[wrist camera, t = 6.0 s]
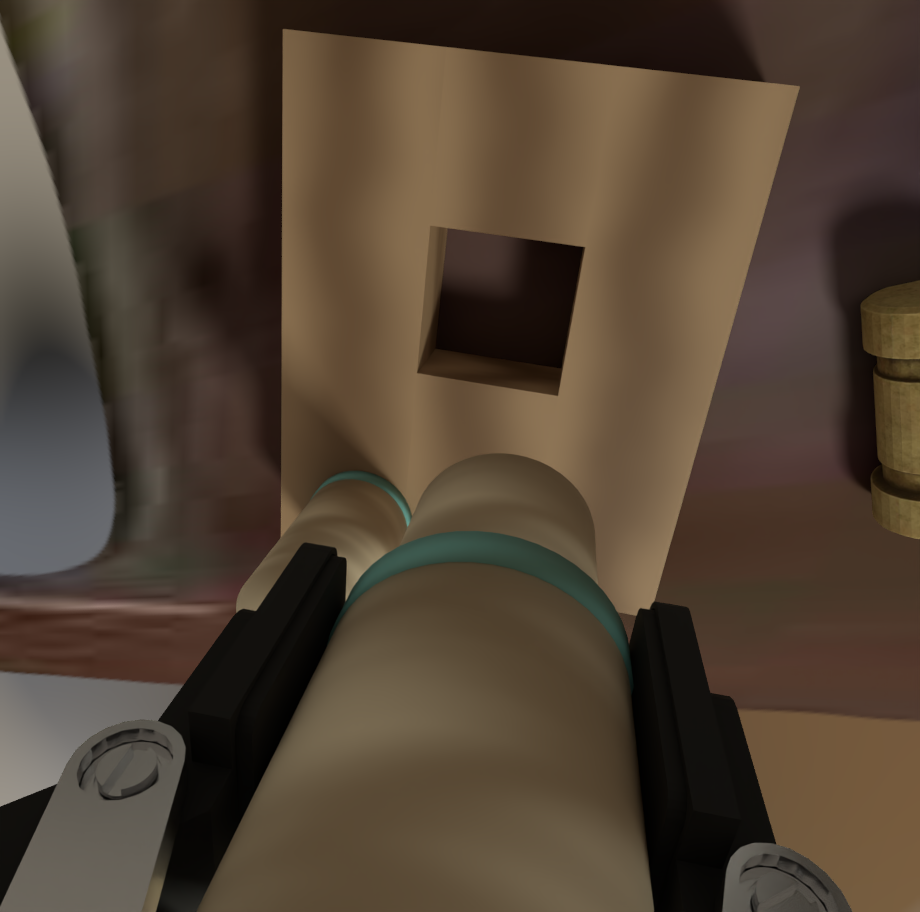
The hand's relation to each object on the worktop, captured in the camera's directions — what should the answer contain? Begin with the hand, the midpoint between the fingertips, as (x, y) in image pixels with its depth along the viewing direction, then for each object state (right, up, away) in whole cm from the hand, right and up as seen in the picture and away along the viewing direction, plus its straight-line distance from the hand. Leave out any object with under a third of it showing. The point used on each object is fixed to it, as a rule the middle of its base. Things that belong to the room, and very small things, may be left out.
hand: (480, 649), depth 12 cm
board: (+2, +9, +20) cm, 22 cm away
